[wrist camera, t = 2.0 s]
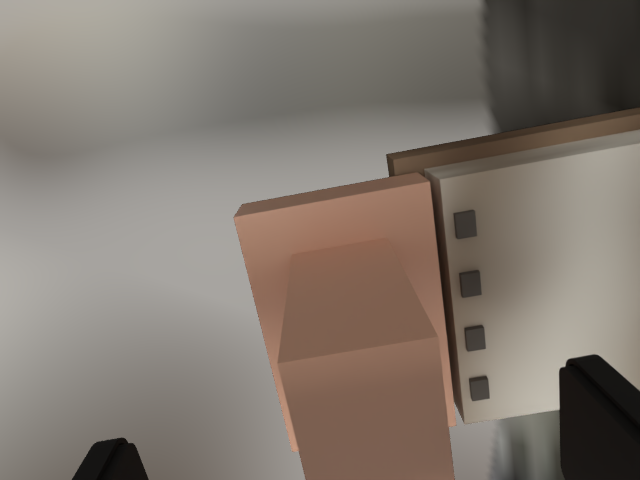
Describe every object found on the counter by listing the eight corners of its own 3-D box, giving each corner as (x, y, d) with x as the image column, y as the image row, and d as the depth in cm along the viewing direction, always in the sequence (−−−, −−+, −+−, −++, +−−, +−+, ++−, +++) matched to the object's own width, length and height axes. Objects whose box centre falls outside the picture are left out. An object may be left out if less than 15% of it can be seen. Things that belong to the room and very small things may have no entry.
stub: (417, 172, 15) (516, 245, 8) (443, 395, 18) (535, 607, 10) (242, 204, 15) (176, 305, 8) (294, 419, 18) (281, 642, 11)
